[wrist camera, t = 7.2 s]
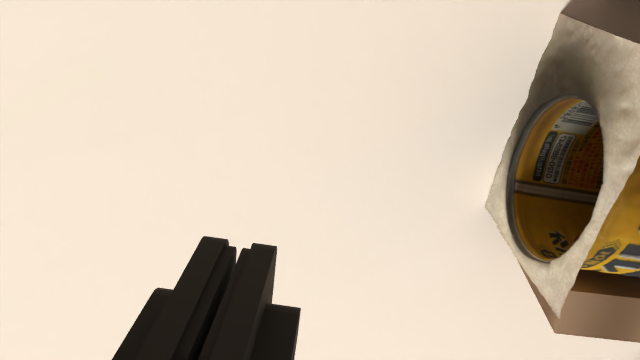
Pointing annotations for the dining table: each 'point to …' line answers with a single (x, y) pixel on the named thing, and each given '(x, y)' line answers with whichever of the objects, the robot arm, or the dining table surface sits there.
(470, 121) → the dining table surface
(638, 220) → the condiment
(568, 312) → the u rest
